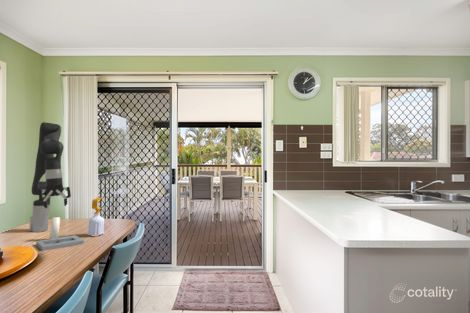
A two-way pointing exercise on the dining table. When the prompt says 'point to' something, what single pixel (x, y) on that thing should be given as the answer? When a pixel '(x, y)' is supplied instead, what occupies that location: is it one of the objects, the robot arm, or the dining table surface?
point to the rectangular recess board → (59, 242)
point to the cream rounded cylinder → (55, 227)
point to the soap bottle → (96, 220)
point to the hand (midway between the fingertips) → (56, 206)
